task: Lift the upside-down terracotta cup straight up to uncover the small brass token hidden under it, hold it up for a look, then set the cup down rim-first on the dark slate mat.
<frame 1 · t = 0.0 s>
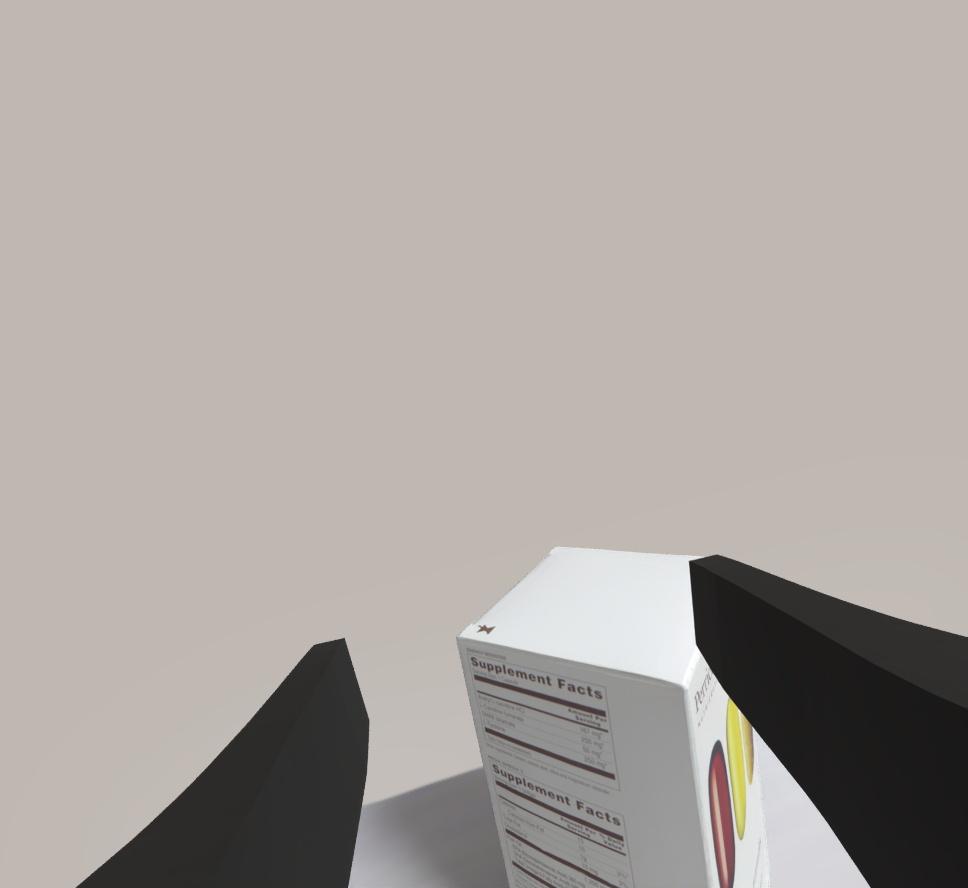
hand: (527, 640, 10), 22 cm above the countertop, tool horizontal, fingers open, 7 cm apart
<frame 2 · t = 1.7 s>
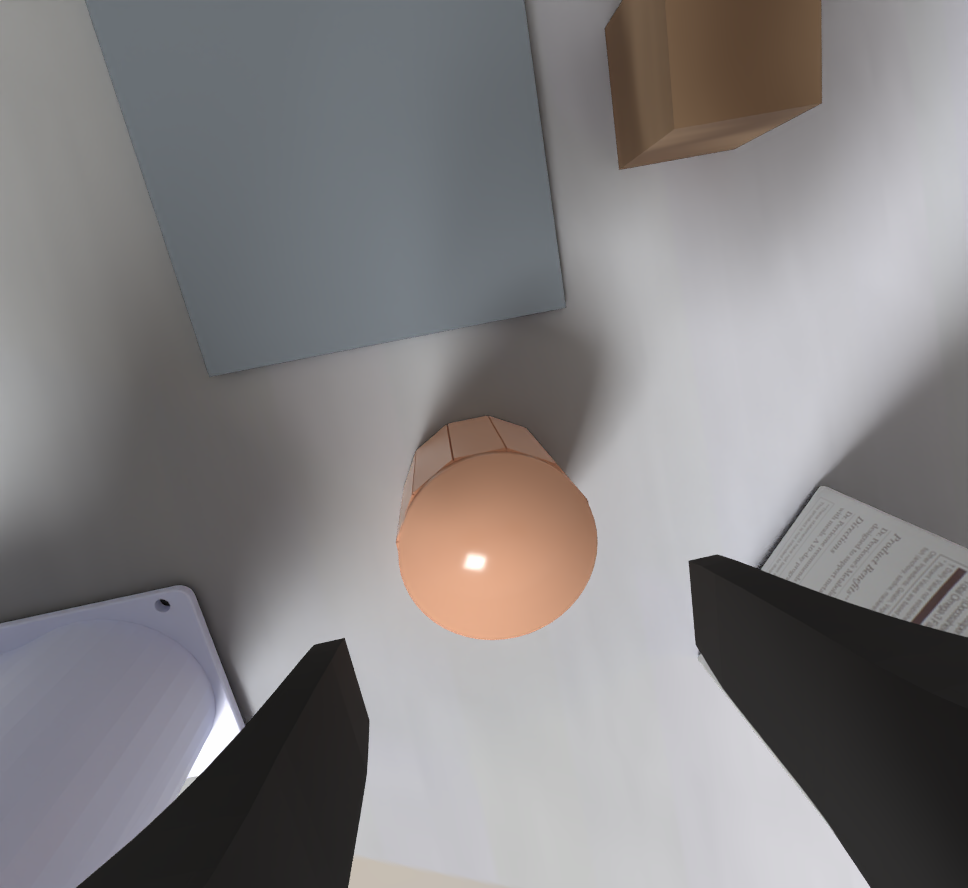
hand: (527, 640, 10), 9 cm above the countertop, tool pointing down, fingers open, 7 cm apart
supplement box: (829, 612, 22), on the countertop
walnut block: (671, 92, 16), on the countertop
slate mat: (347, 146, 16), on the countertop
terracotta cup: (481, 491, 19), on the countertop
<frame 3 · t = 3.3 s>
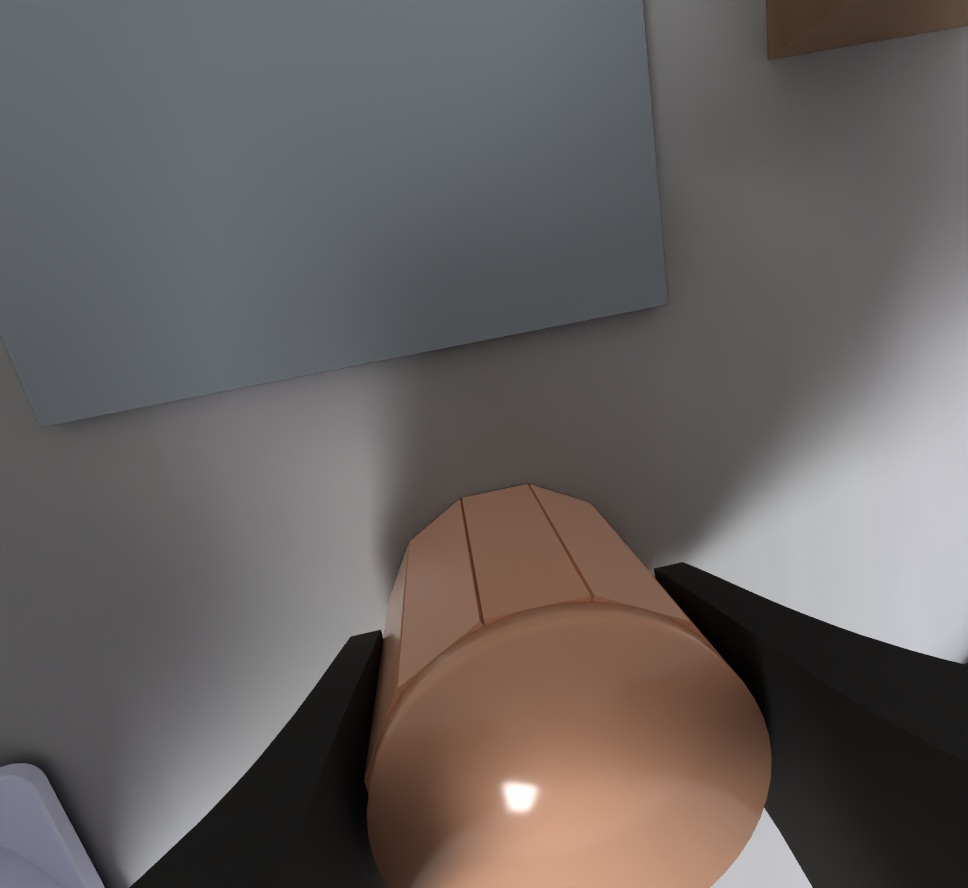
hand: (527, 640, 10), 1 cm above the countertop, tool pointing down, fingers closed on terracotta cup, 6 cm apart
slate mat: (279, 3, 8), on the countertop
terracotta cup: (516, 602, 12), on the countertop, touching gripper
when the fingers open (3 cm above the countertop, at t = 8.2 s): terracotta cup drops 1 cm, resting on slate mat.
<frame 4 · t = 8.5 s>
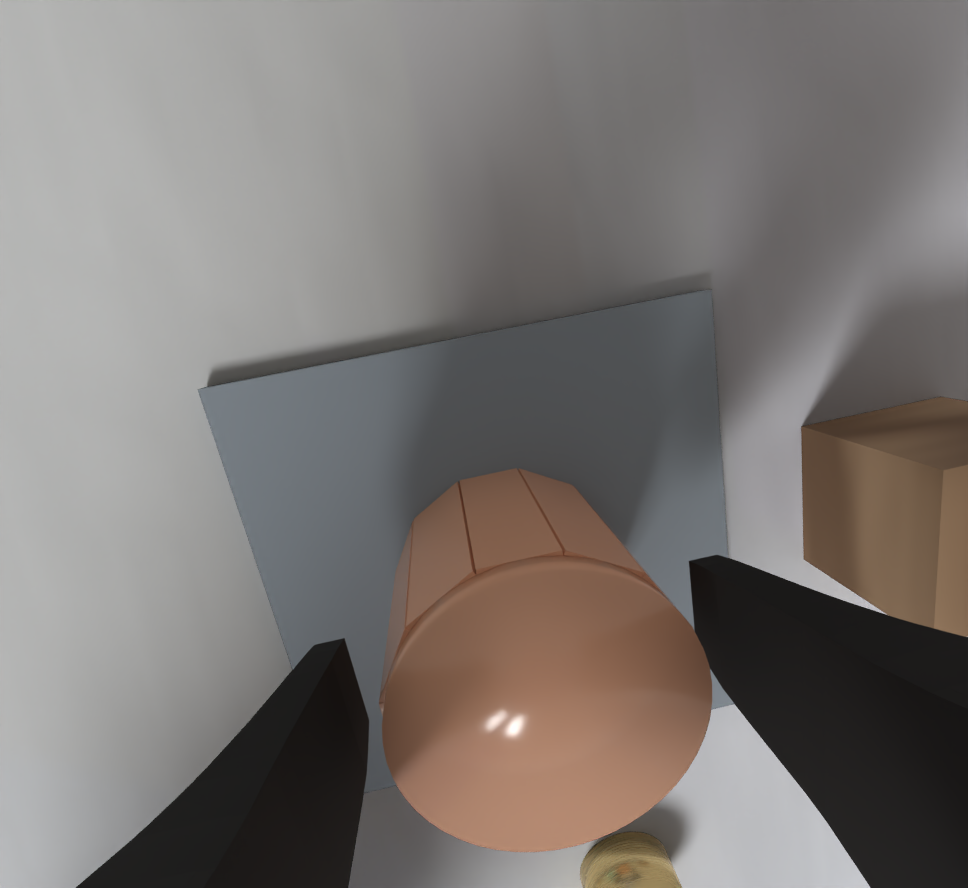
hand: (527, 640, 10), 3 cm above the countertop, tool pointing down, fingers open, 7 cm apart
brass token: (622, 862, 17), on the countertop
walnut block: (867, 479, 14), on the countertop
slate mat: (503, 561, 14), on the countertop
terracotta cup: (507, 573, 13), resting on slate mat
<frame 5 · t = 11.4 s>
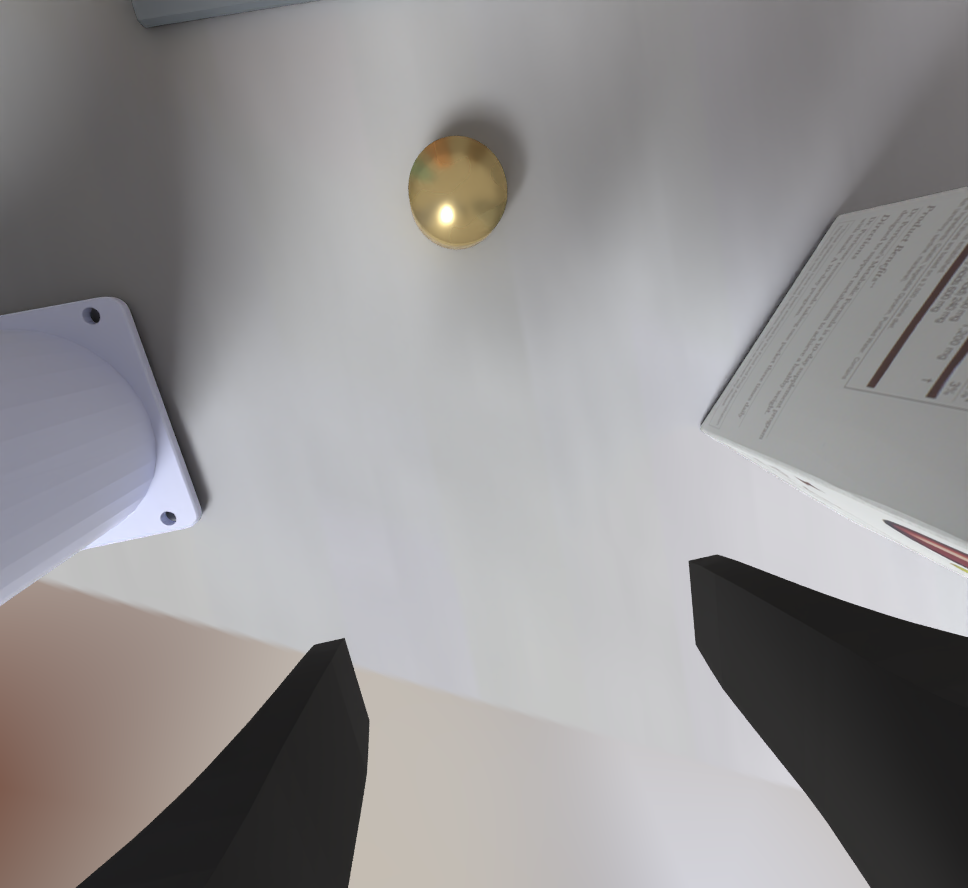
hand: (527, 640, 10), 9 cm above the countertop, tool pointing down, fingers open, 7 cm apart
brass token: (455, 201, 17), on the countertop
supplement box: (847, 383, 20), on the countertop
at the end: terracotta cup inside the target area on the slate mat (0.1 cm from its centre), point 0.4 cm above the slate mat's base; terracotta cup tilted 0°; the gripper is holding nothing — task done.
